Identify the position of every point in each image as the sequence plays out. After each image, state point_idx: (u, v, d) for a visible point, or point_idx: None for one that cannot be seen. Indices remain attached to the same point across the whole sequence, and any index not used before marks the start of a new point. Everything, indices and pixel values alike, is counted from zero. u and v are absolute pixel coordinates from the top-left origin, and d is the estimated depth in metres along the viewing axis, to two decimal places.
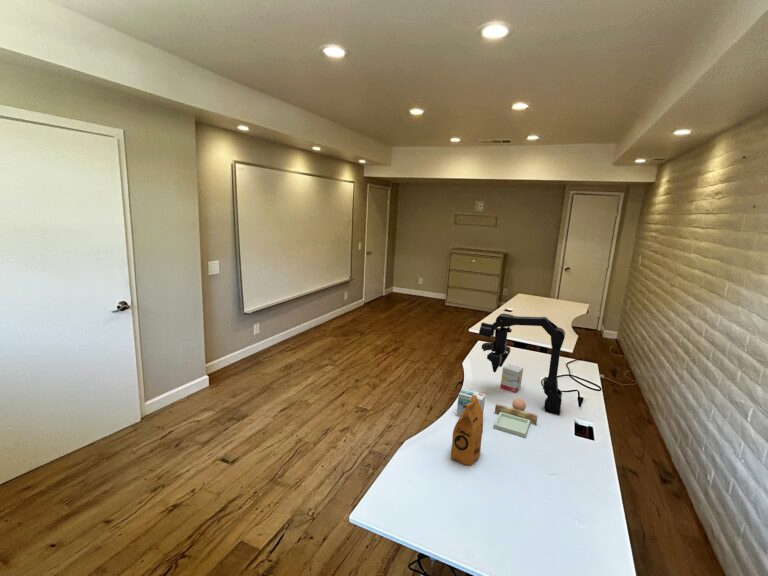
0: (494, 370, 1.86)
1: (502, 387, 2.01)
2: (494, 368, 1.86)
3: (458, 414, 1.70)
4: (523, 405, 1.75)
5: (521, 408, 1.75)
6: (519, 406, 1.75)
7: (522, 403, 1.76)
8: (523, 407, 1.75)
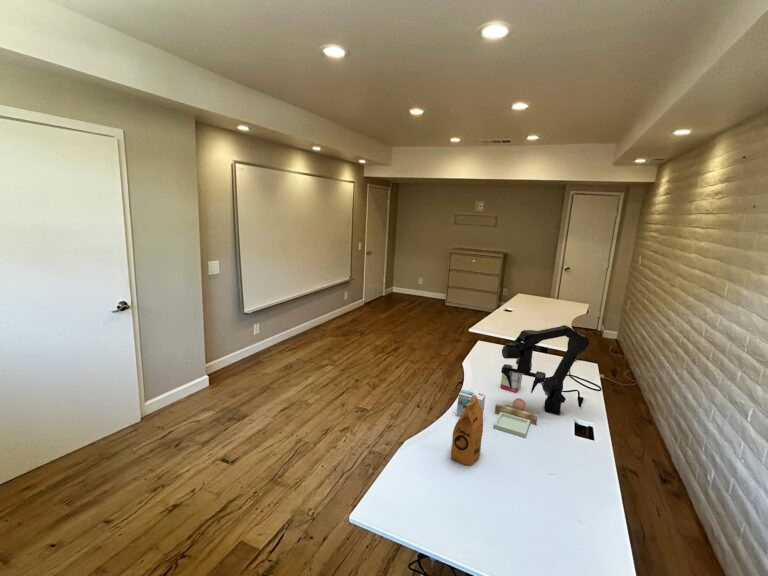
0: None
1: (502, 387, 2.01)
2: None
3: (458, 414, 1.70)
4: (523, 405, 1.75)
5: (521, 408, 1.75)
6: (519, 406, 1.75)
7: (522, 403, 1.76)
8: (523, 407, 1.75)
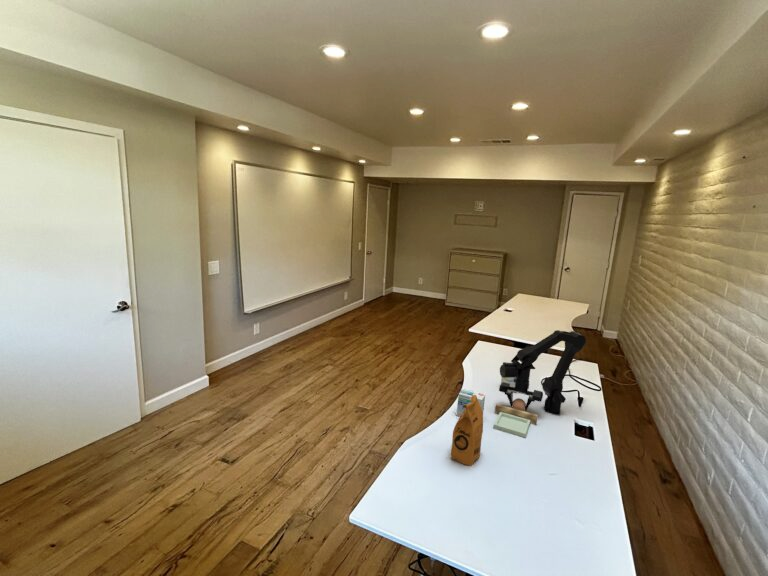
0: None
1: None
2: None
3: (458, 414, 1.70)
4: (523, 405, 1.75)
5: (521, 408, 1.75)
6: (519, 406, 1.75)
7: (522, 403, 1.76)
8: (523, 407, 1.75)
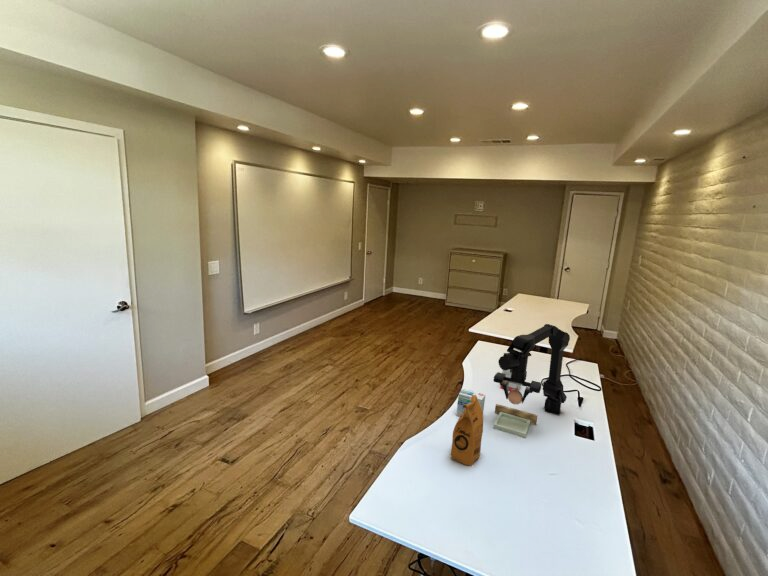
0: None
1: (502, 387, 2.01)
2: None
3: (458, 414, 1.70)
4: (520, 397, 1.60)
5: (517, 400, 1.60)
6: (515, 398, 1.60)
7: (519, 395, 1.61)
8: (519, 399, 1.60)
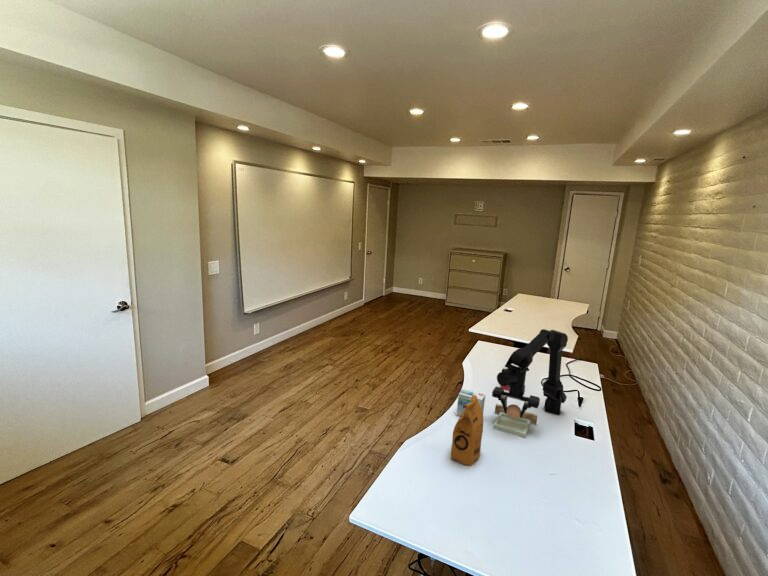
0: None
1: (502, 387, 2.01)
2: None
3: (458, 414, 1.70)
4: (518, 412, 1.61)
5: (516, 415, 1.61)
6: (513, 413, 1.61)
7: (517, 410, 1.61)
8: (518, 414, 1.61)
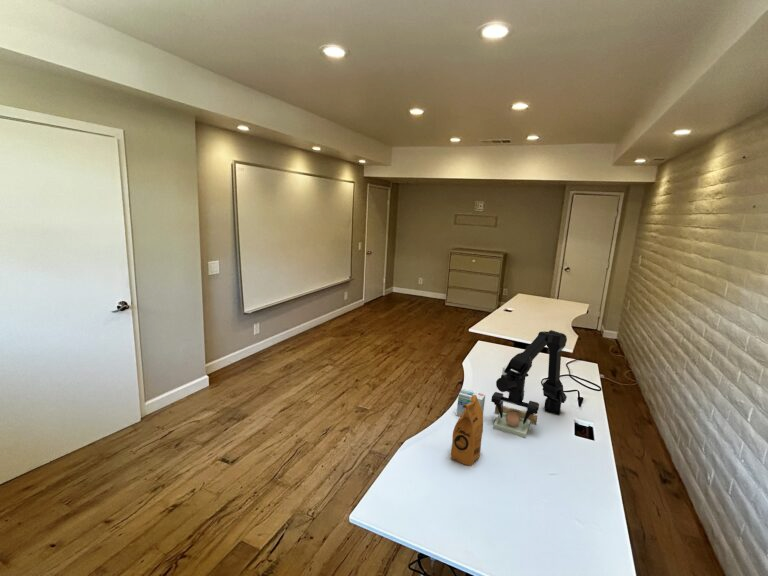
0: None
1: None
2: None
3: (458, 414, 1.70)
4: (517, 419, 1.61)
5: (515, 422, 1.61)
6: (512, 420, 1.61)
7: (516, 417, 1.62)
8: (517, 421, 1.61)
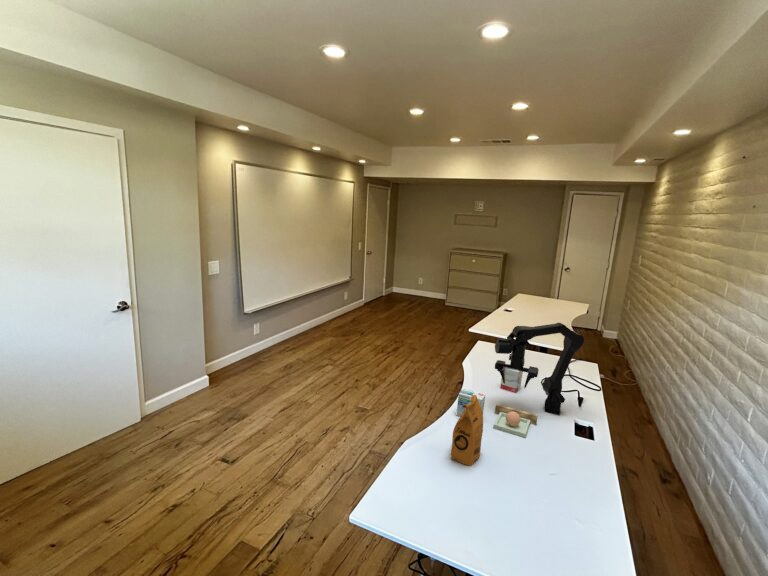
0: None
1: (502, 387, 2.01)
2: None
3: (458, 414, 1.70)
4: (517, 419, 1.61)
5: (515, 422, 1.61)
6: (512, 420, 1.61)
7: (517, 417, 1.62)
8: (517, 421, 1.61)
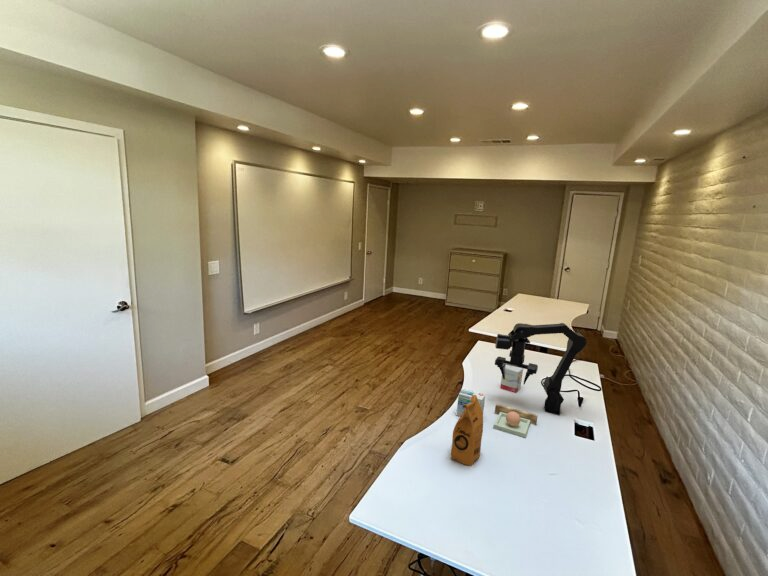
0: None
1: (502, 387, 2.01)
2: None
3: (458, 414, 1.70)
4: (517, 419, 1.61)
5: (515, 422, 1.61)
6: (513, 420, 1.61)
7: (517, 417, 1.62)
8: (517, 421, 1.61)
